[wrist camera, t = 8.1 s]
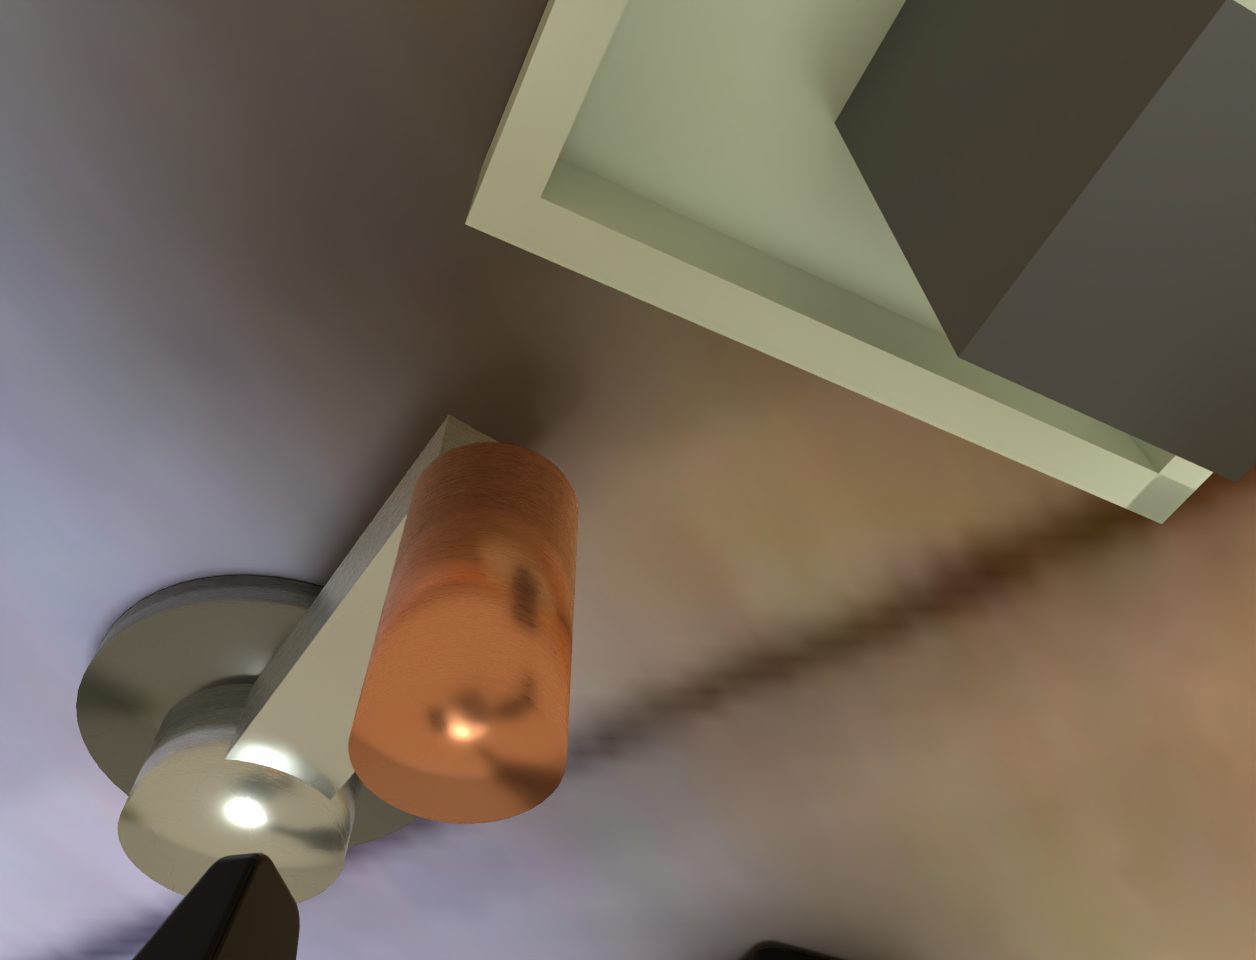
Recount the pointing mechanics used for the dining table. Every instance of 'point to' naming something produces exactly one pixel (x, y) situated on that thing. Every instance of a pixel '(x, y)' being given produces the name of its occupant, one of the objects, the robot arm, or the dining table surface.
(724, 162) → the tray
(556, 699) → the crank
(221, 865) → the robot arm
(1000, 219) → the dark gray rectangular block
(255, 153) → the dining table surface
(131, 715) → the hub plate
